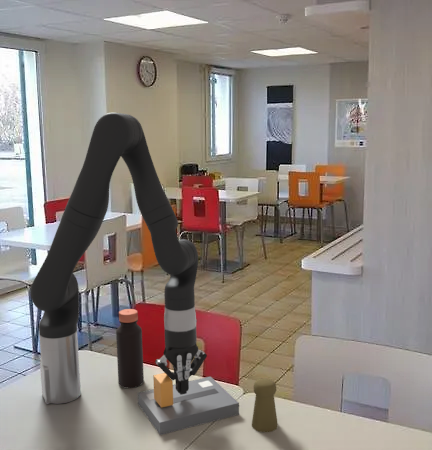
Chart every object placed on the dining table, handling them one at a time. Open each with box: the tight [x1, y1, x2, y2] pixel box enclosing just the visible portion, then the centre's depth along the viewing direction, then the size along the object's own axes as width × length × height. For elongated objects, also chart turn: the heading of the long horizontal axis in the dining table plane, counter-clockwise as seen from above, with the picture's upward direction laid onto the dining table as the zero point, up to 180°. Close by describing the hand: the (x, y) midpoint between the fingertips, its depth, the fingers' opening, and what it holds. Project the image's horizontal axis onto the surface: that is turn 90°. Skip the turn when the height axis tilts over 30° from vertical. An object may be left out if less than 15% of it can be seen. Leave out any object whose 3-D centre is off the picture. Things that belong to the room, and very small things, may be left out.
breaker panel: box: [136, 376, 240, 436], centre depth 139 cm, size 20×16×3 cm
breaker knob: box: [153, 372, 174, 408], centre depth 135 cm, size 3×5×6 cm, turn 26°
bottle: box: [115, 308, 145, 389], centre depth 151 cm, size 7×7×20 cm
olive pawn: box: [251, 377, 279, 433], centre depth 130 cm, size 6×6×11 cm
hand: (182, 392), depth 137 cm, fingers closed
